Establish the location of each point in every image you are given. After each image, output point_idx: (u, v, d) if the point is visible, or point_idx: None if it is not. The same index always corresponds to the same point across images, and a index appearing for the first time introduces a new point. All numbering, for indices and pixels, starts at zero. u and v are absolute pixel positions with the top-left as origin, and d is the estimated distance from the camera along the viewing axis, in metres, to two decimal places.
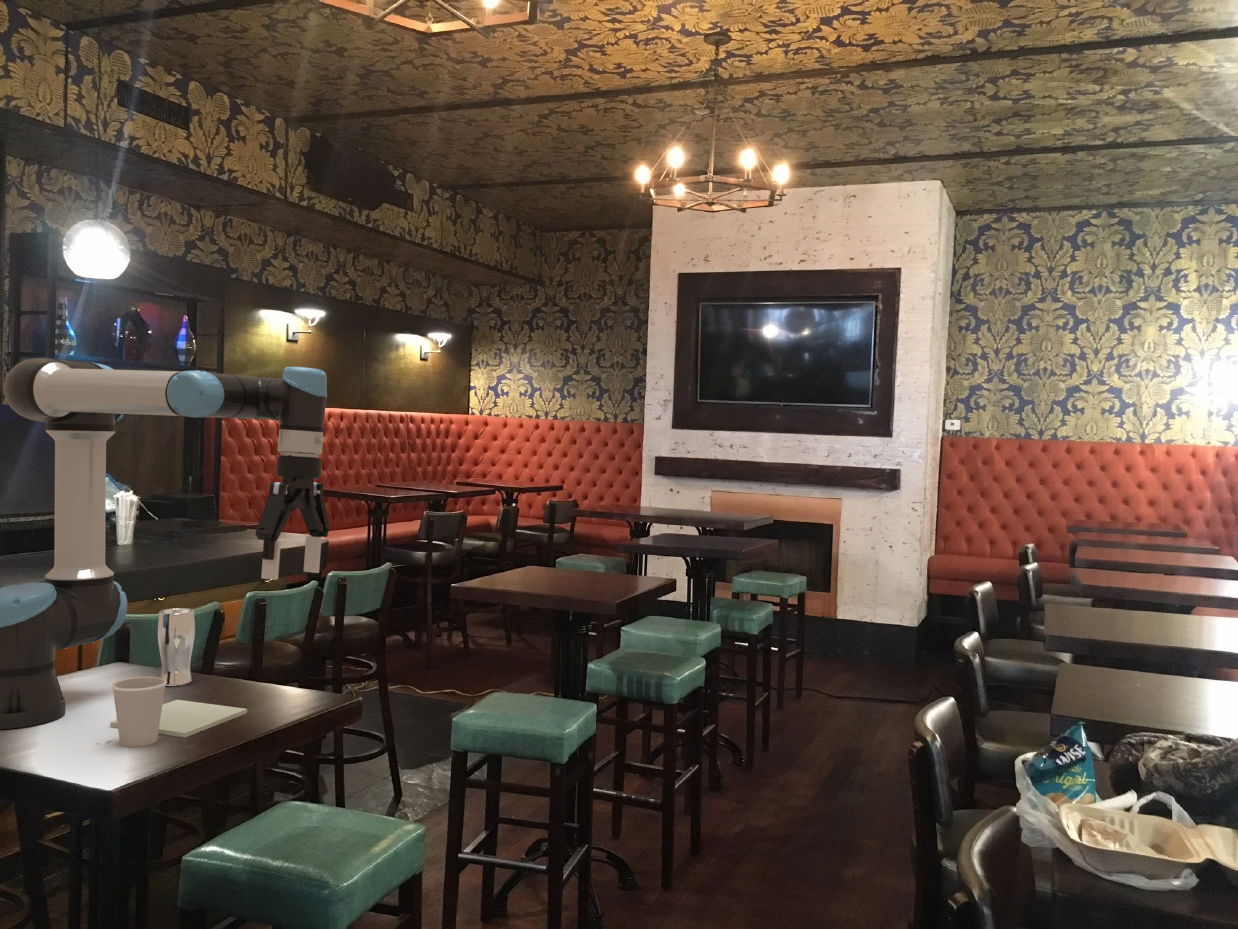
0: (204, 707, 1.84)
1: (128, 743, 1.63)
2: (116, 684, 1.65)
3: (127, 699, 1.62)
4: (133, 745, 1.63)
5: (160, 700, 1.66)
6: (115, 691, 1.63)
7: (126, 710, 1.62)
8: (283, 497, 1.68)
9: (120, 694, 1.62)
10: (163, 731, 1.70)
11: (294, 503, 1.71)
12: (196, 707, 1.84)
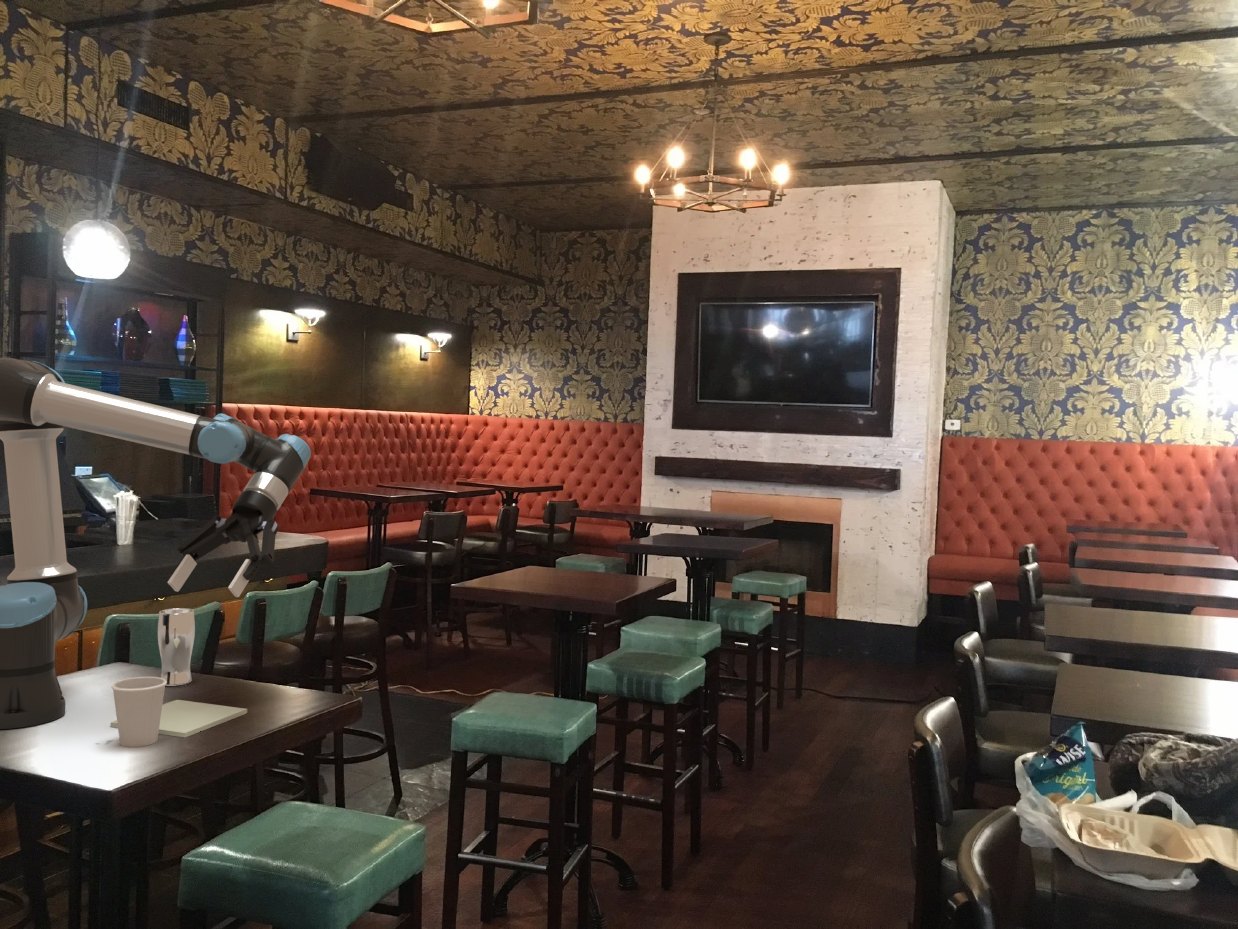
0: (204, 707, 1.84)
1: (128, 743, 1.63)
2: (116, 684, 1.65)
3: (127, 699, 1.62)
4: (133, 745, 1.63)
5: (160, 700, 1.66)
6: (115, 691, 1.63)
7: (126, 710, 1.62)
8: None
9: (120, 694, 1.62)
10: (163, 731, 1.70)
11: (257, 541, 1.86)
12: (196, 707, 1.84)
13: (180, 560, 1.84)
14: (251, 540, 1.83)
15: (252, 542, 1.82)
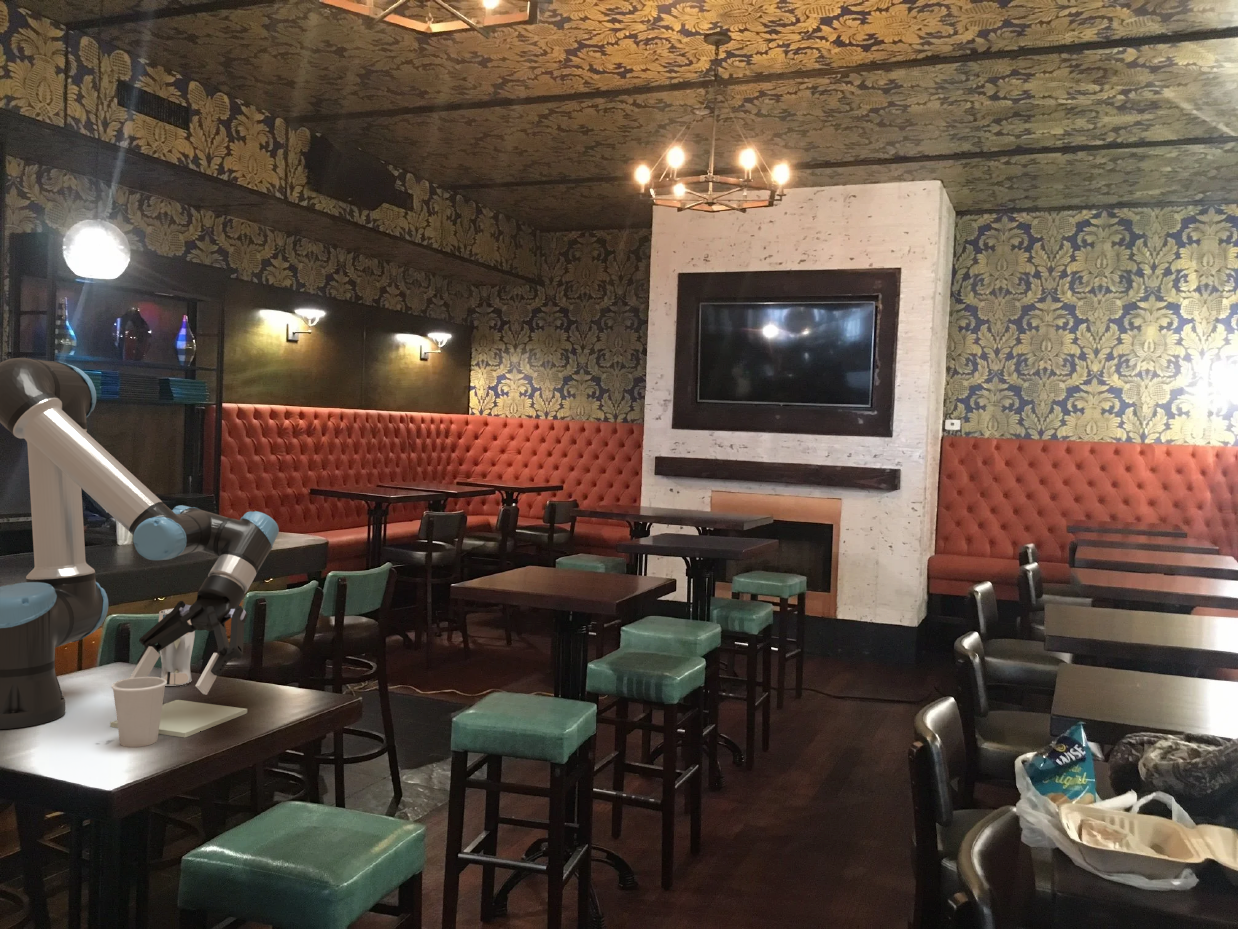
0: (204, 707, 1.84)
1: (128, 743, 1.63)
2: (116, 684, 1.65)
3: (127, 699, 1.62)
4: (133, 745, 1.63)
5: (160, 700, 1.66)
6: (115, 691, 1.63)
7: (126, 710, 1.62)
8: None
9: (120, 694, 1.62)
10: (163, 731, 1.70)
11: (225, 630, 1.77)
12: (196, 707, 1.84)
13: (142, 652, 1.74)
14: (219, 631, 1.74)
15: (220, 634, 1.73)
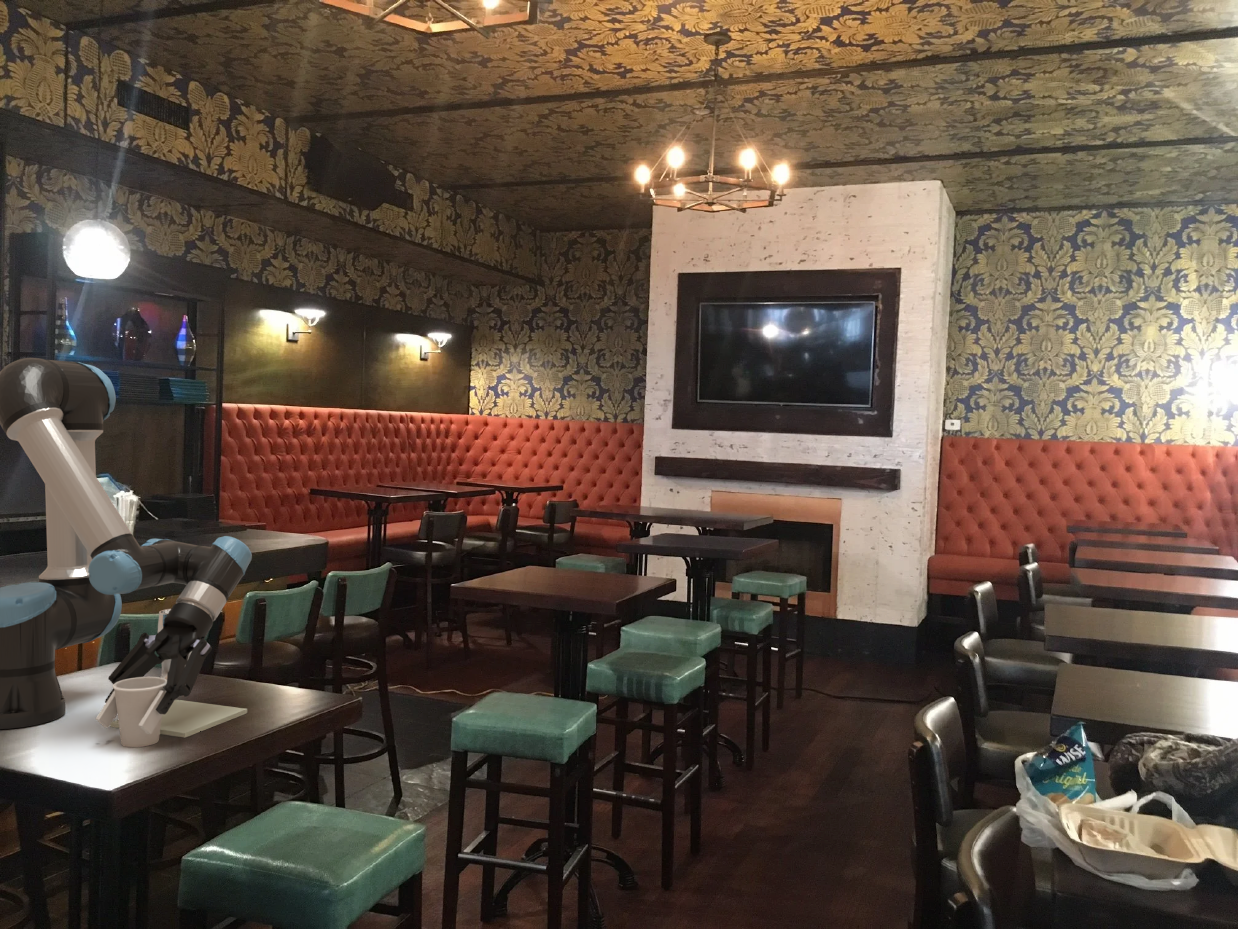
0: (204, 707, 1.84)
1: (130, 743, 1.63)
2: (117, 684, 1.65)
3: (129, 699, 1.62)
4: (135, 745, 1.63)
5: None
6: (116, 691, 1.62)
7: (128, 710, 1.62)
8: None
9: (121, 694, 1.62)
10: (163, 731, 1.70)
11: (186, 661, 1.72)
12: (196, 707, 1.84)
13: (111, 691, 1.67)
14: (175, 664, 1.68)
15: (174, 668, 1.67)
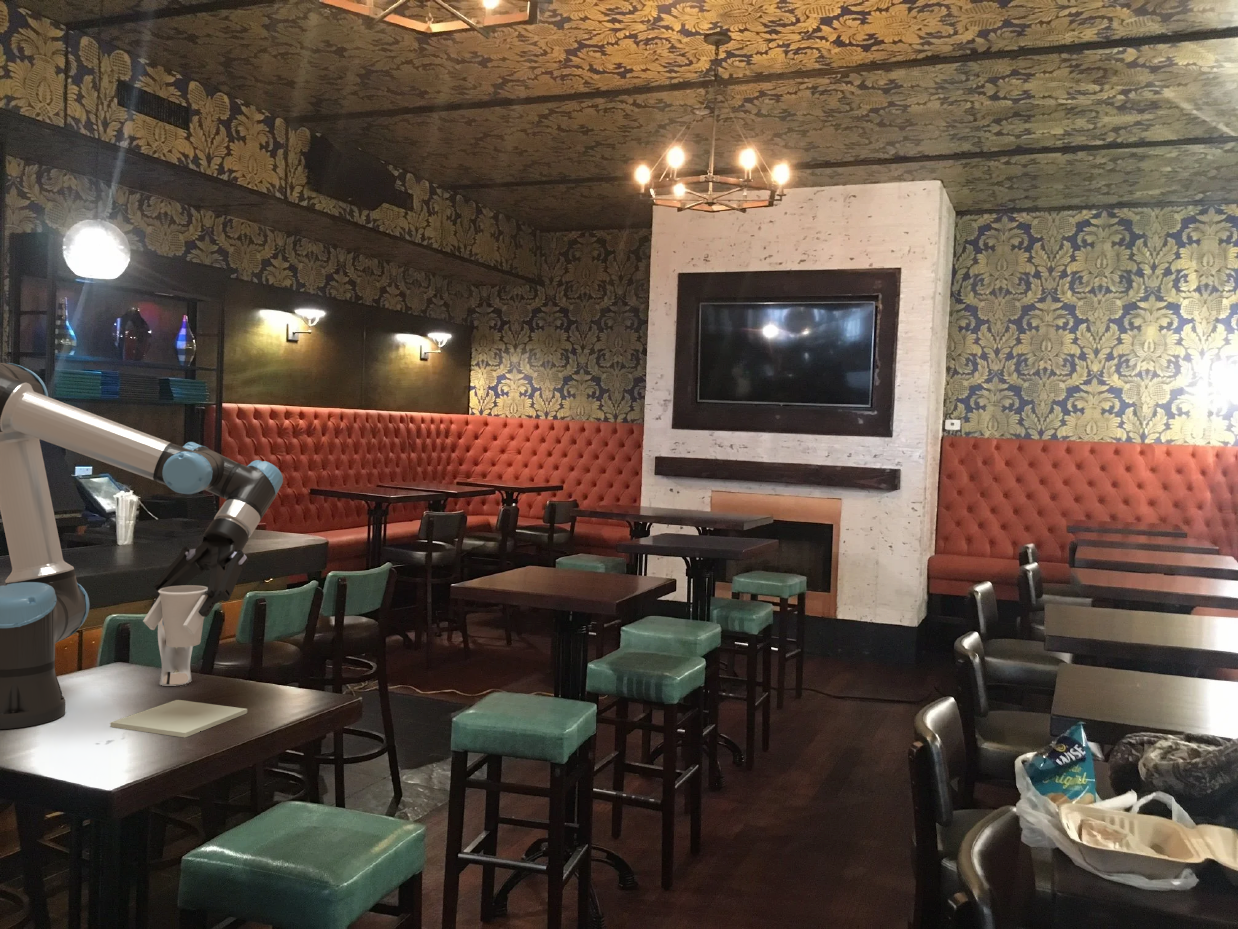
0: (204, 707, 1.84)
1: (174, 643, 1.76)
2: (162, 590, 1.78)
3: (173, 602, 1.75)
4: (179, 645, 1.76)
5: None
6: (162, 595, 1.75)
7: (172, 612, 1.75)
8: None
9: (167, 597, 1.75)
10: (163, 731, 1.70)
11: (224, 572, 1.84)
12: (196, 707, 1.84)
13: (156, 597, 1.80)
14: (214, 573, 1.81)
15: (214, 576, 1.80)
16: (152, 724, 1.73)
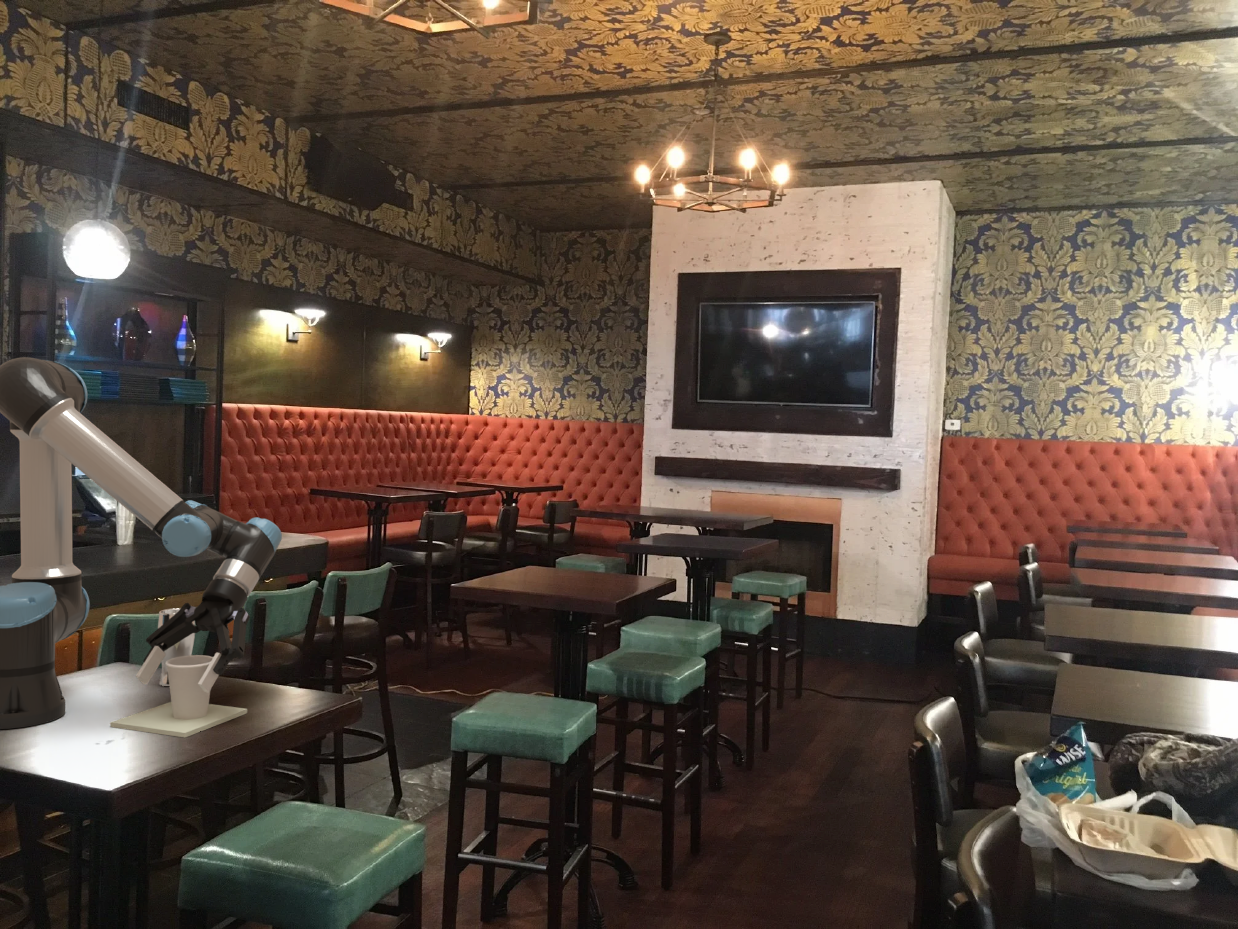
0: None
1: (182, 716, 1.76)
2: (169, 662, 1.78)
3: (181, 675, 1.75)
4: (186, 718, 1.76)
5: None
6: (169, 668, 1.76)
7: (180, 685, 1.75)
8: None
9: (174, 670, 1.75)
10: (163, 731, 1.70)
11: (228, 631, 1.85)
12: None
13: None
14: (222, 631, 1.81)
15: (223, 634, 1.81)
16: (152, 724, 1.73)
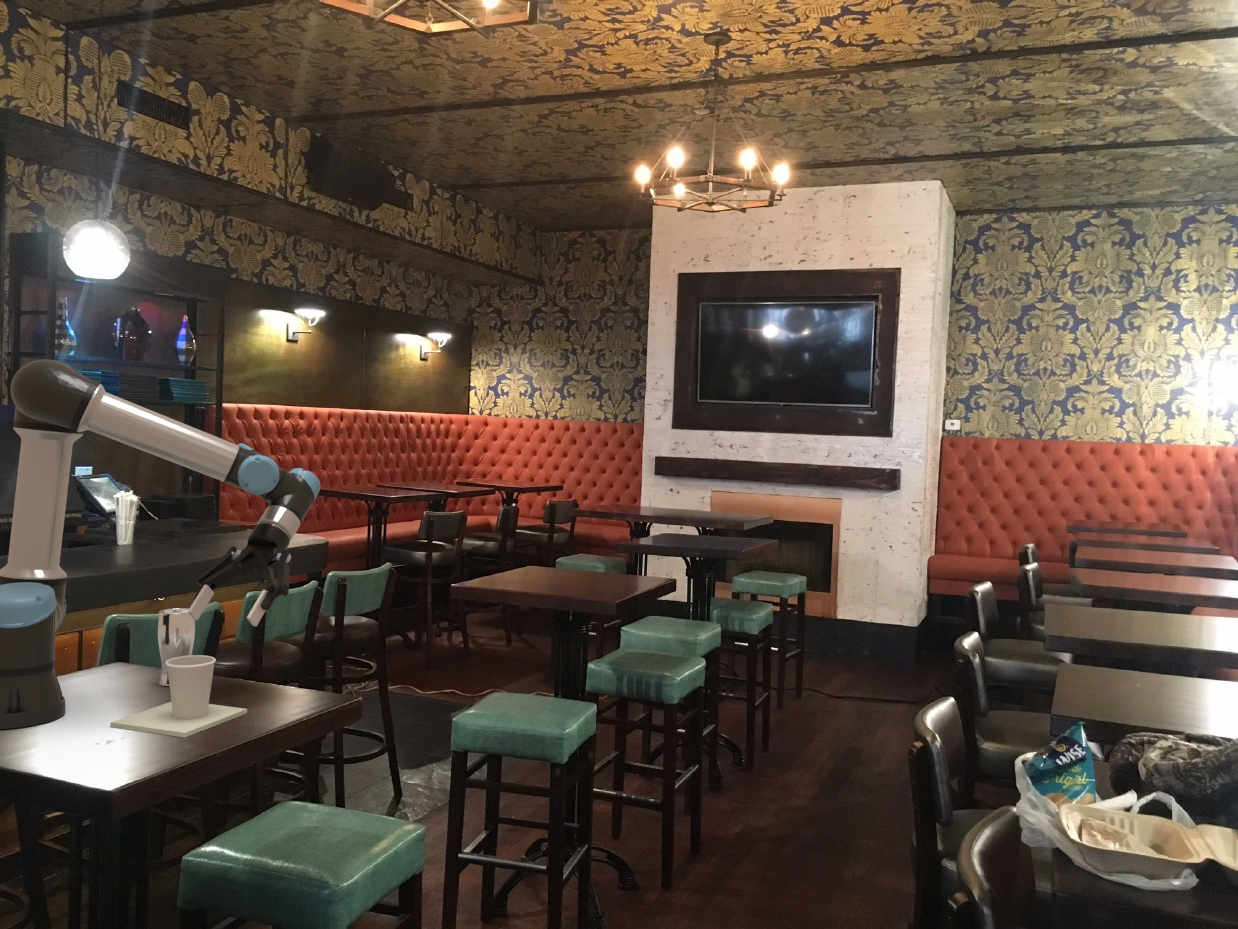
0: None
1: (182, 716, 1.76)
2: (169, 662, 1.78)
3: (181, 675, 1.75)
4: (186, 718, 1.76)
5: (210, 676, 1.79)
6: (170, 668, 1.76)
7: (180, 685, 1.75)
8: None
9: (174, 670, 1.75)
10: (163, 731, 1.70)
11: (272, 572, 1.97)
12: None
13: None
14: (267, 571, 1.93)
15: (268, 574, 1.92)
16: (152, 724, 1.73)
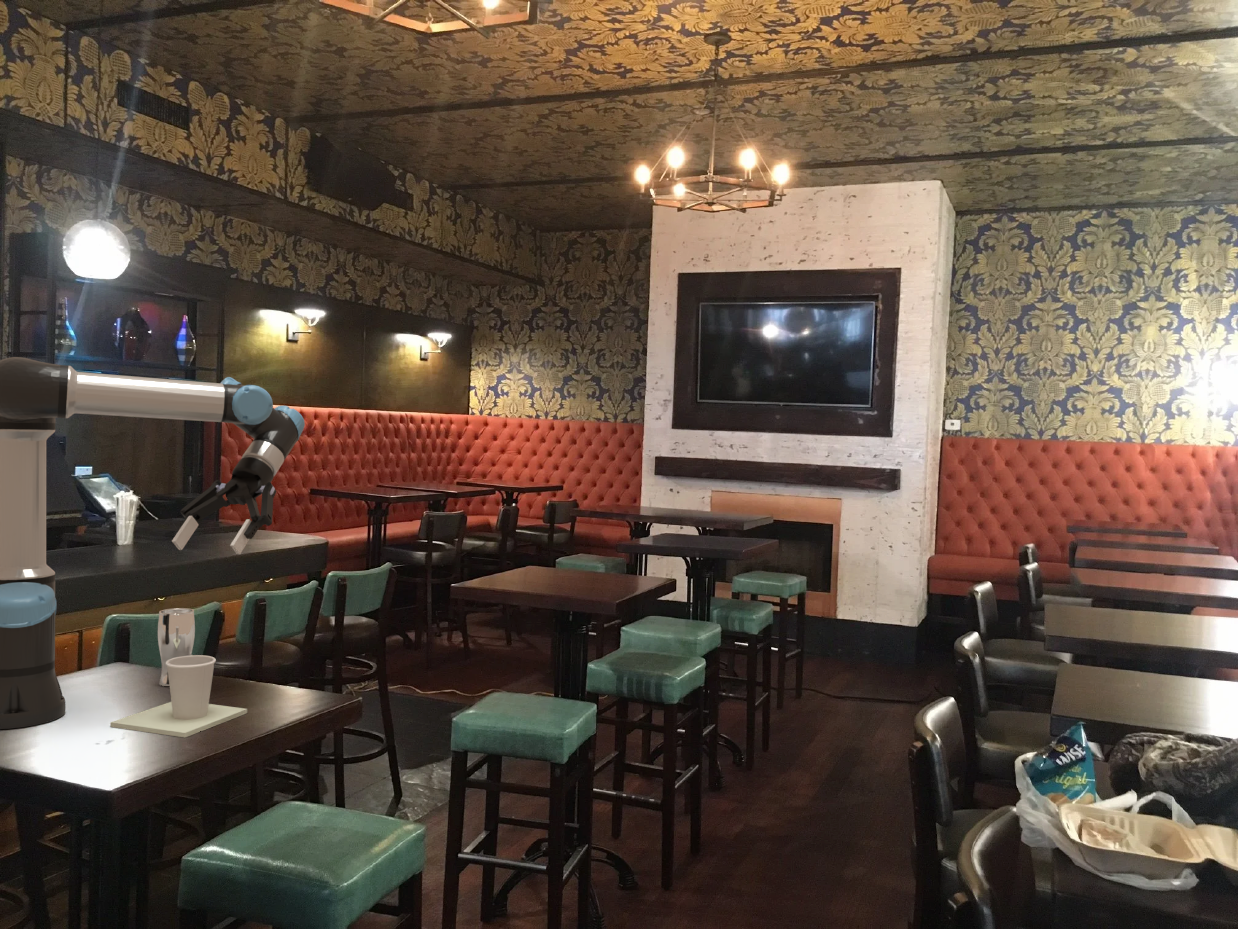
0: None
1: (182, 716, 1.76)
2: (169, 662, 1.78)
3: (181, 675, 1.75)
4: (186, 718, 1.76)
5: (210, 676, 1.79)
6: (170, 668, 1.76)
7: (180, 685, 1.75)
8: None
9: (174, 670, 1.75)
10: (163, 731, 1.70)
11: (256, 504, 1.99)
12: None
13: (183, 521, 1.96)
14: (251, 502, 1.95)
15: (252, 504, 1.95)
16: (152, 724, 1.73)
